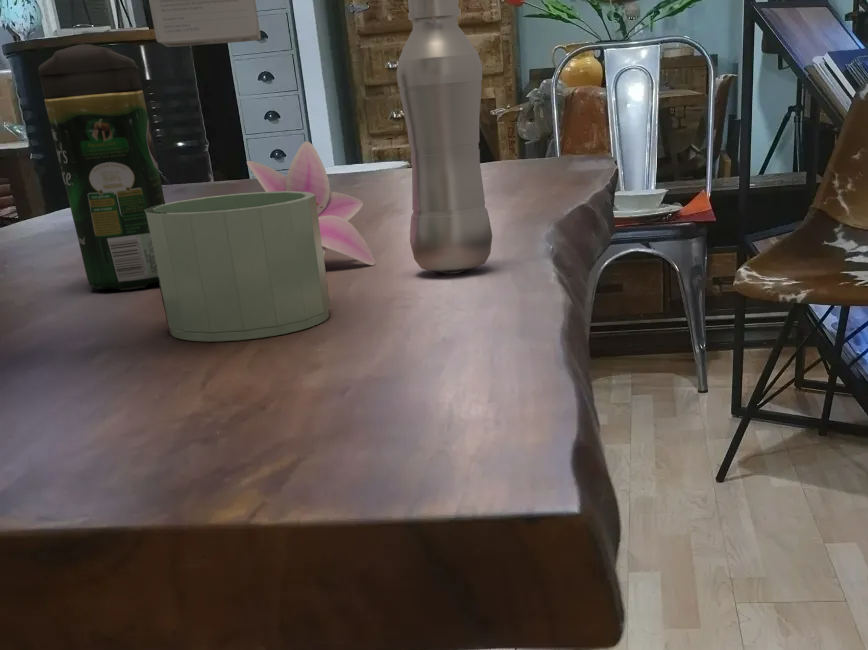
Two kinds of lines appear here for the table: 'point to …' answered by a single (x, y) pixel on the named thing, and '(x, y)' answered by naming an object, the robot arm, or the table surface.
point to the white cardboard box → (204, 21)
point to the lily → (319, 201)
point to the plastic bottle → (444, 140)
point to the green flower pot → (240, 265)
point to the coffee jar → (105, 161)
